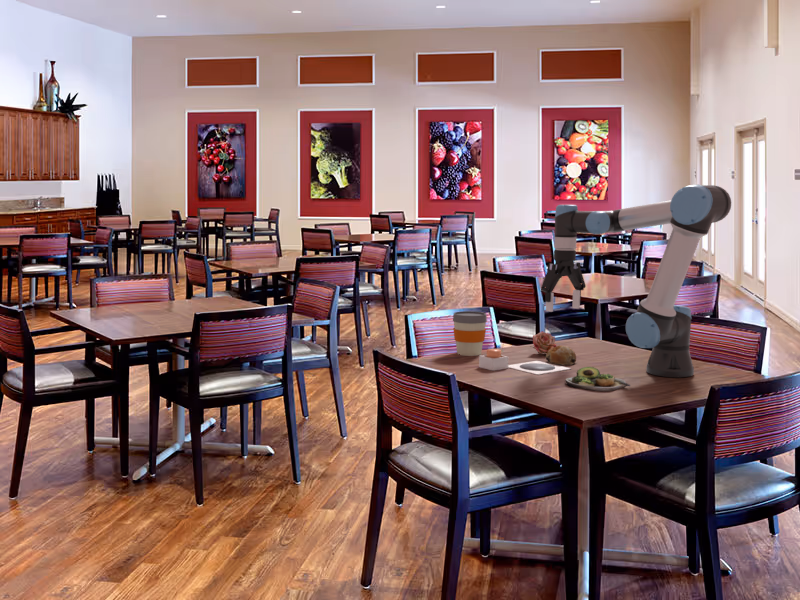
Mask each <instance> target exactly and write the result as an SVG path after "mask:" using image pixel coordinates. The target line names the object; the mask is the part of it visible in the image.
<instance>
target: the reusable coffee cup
mask: <svg viewBox="0 0 800 600" xmlns="http://www.w3.org/2000/svg"><path fill="white" fill-rule="evenodd" d="M487 321H488V318H487V313H486V312H481V311H472V310H471V311H470V310H469V311H467V310H465V311H455V312H453V317H452V322H453V336H454V337H453V339H454V341H455V346H456V347H455V348H456V354H457V355H459V354H460V356H466V357H473V356H475V357H477V356H480V355H482V351H483V345H484V341H485V338H486V331H487V328H486V325H487Z"/></svg>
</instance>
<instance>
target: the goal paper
mask: <svg viewBox="0 0 800 600" xmlns="http://www.w3.org/2000/svg"><path fill="white" fill-rule="evenodd" d="M507 369H511V370H514V371H515V370H516V371H519V372H523V373H528V374H531V375H532V374H533V375H536V376H539V375H546V374H552V373H556V372H557V373H558V372H564V371H569V370H572V368H571V367H566V366H563V365H555V364H551V363H549V362H544V361H540V360H533V361H527V362H520V363H514V364H508V368H507Z"/></svg>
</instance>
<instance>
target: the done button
mask: <svg viewBox="0 0 800 600" xmlns="http://www.w3.org/2000/svg"><path fill="white" fill-rule="evenodd" d="M485 353H486V354H485V355H486V357H490V358H499V357H501V355H502V350H501V349H500V348H499V349H497V348H488V349H486V352H485Z"/></svg>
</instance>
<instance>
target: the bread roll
mask: <svg viewBox="0 0 800 600" xmlns="http://www.w3.org/2000/svg"><path fill="white" fill-rule="evenodd" d="M545 361H547V363H549V364H554V365H558V366H572V365H574V364H575V363H576V362H577V354H576V352H575V351H574V350H573V348H570V346H565V345H556V347H554V348H552V349H551V350H550V351H548V354H546V355H545Z"/></svg>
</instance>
